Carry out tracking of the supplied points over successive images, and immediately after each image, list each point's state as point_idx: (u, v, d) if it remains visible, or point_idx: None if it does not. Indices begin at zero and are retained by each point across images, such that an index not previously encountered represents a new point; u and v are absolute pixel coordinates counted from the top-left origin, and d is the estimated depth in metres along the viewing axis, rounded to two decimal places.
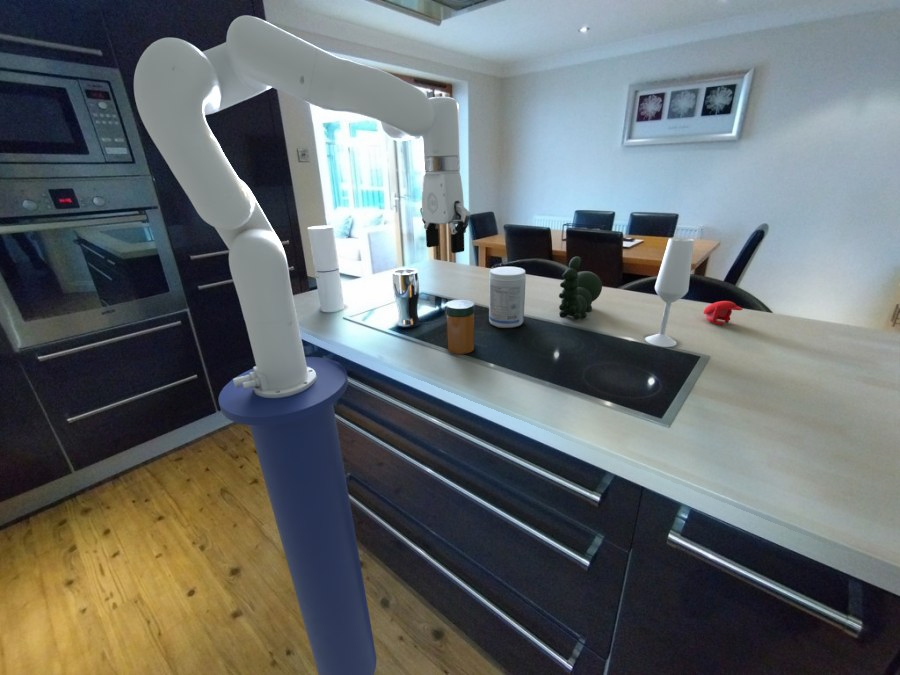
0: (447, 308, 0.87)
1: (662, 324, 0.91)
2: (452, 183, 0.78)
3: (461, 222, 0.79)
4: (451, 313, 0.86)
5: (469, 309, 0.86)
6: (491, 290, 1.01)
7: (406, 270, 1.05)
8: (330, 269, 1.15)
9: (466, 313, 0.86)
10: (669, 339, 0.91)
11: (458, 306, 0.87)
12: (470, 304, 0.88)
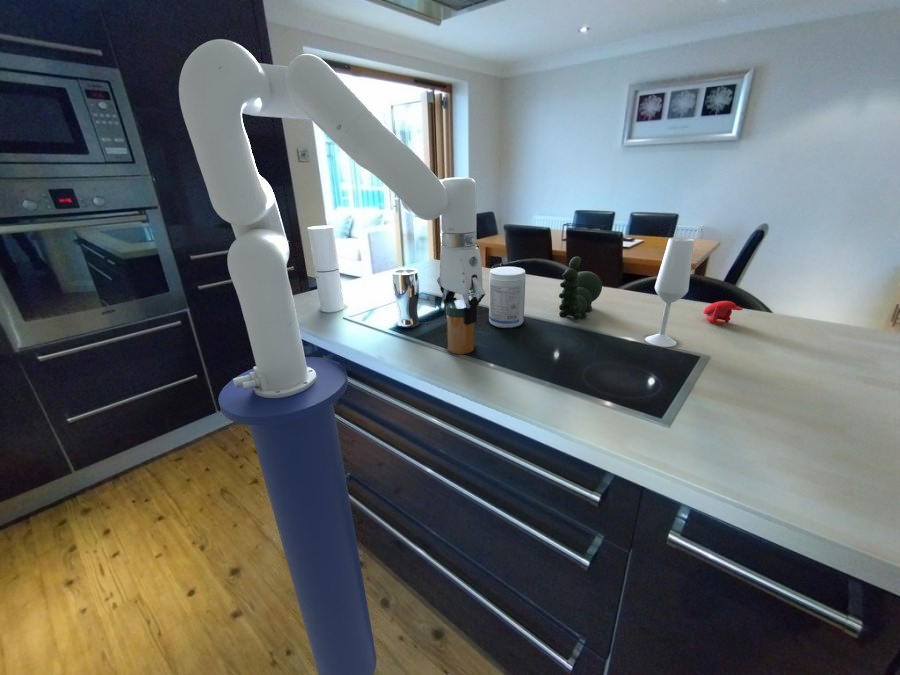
0: (447, 308, 0.87)
1: (662, 324, 0.91)
2: None
3: None
4: (451, 313, 0.86)
5: None
6: (491, 290, 1.01)
7: (406, 270, 1.05)
8: (330, 269, 1.15)
9: None
10: (669, 339, 0.91)
11: (458, 306, 0.87)
12: None
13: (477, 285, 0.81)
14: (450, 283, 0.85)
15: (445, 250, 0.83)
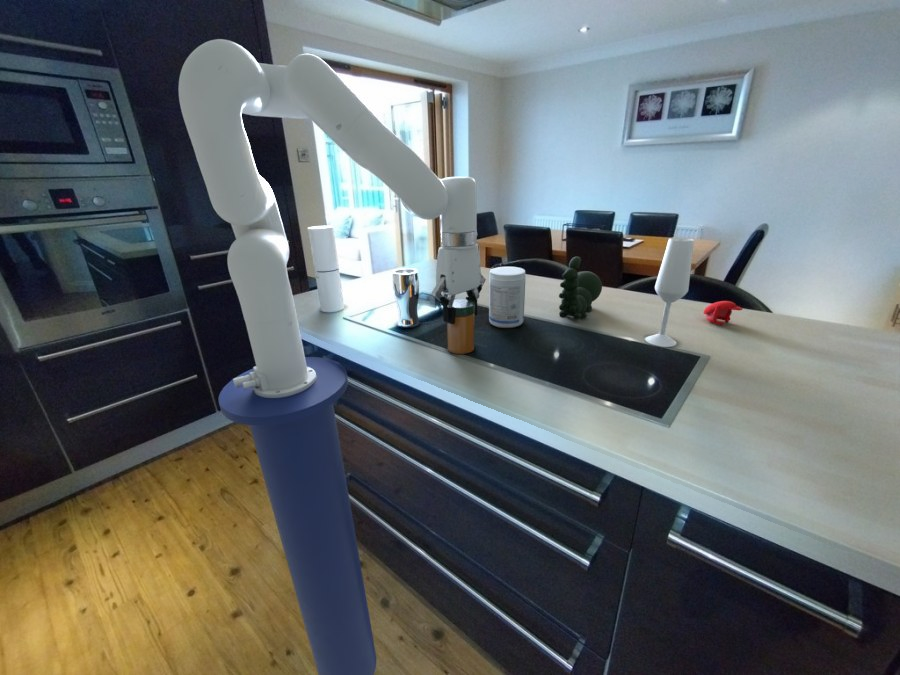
0: (469, 308, 0.86)
1: (662, 324, 0.91)
2: (440, 257, 0.81)
3: None
4: (473, 310, 0.87)
5: None
6: (491, 290, 1.01)
7: (406, 270, 1.05)
8: (330, 269, 1.15)
9: None
10: (669, 339, 0.91)
11: (468, 303, 0.88)
12: (461, 300, 0.90)
13: None
14: (466, 283, 0.84)
15: (462, 251, 0.81)
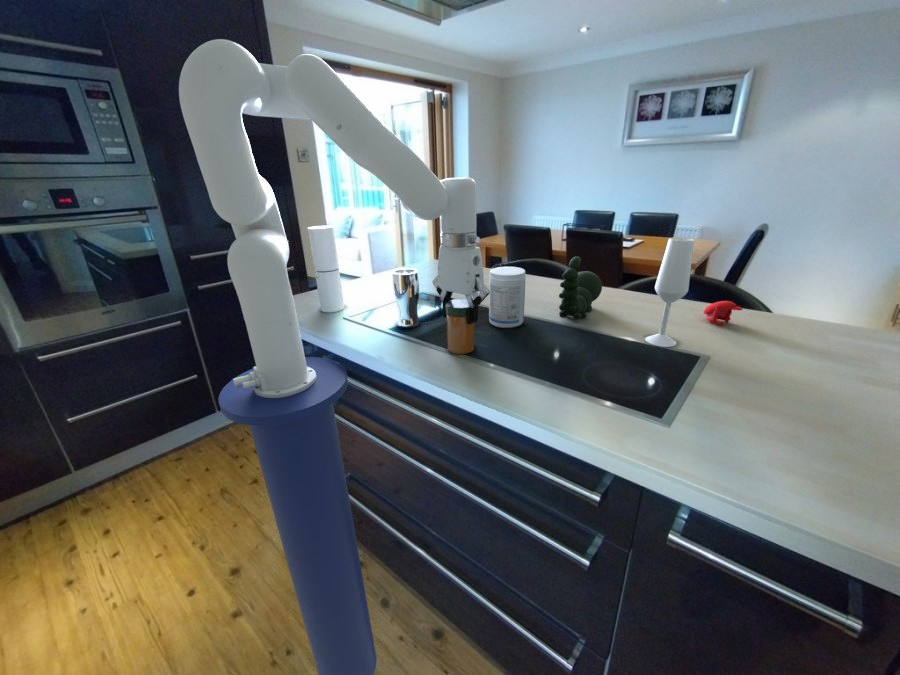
0: None
1: (662, 324, 0.91)
2: None
3: None
4: None
5: None
6: (491, 290, 1.01)
7: (406, 270, 1.05)
8: (330, 269, 1.15)
9: None
10: (669, 339, 0.91)
11: (467, 302, 0.88)
12: (458, 300, 0.90)
13: (481, 284, 0.82)
14: (451, 284, 0.85)
15: (445, 251, 0.83)
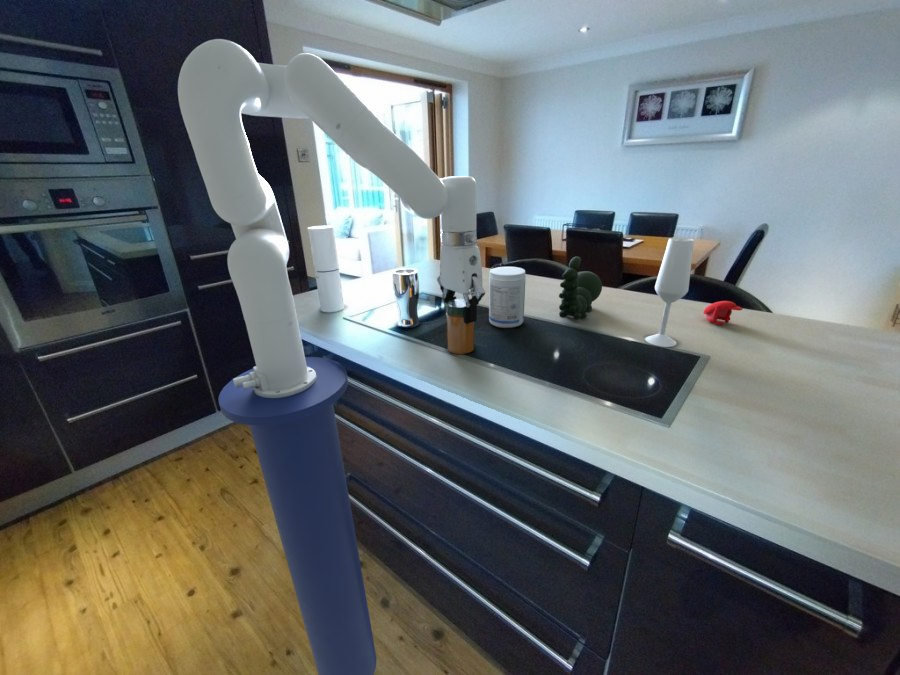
0: None
1: (662, 324, 0.91)
2: None
3: None
4: None
5: None
6: (491, 290, 1.01)
7: (406, 270, 1.05)
8: (330, 269, 1.15)
9: None
10: (669, 339, 0.91)
11: (459, 300, 0.90)
12: (449, 303, 0.88)
13: (477, 284, 0.81)
14: (450, 282, 0.85)
15: (445, 249, 0.83)
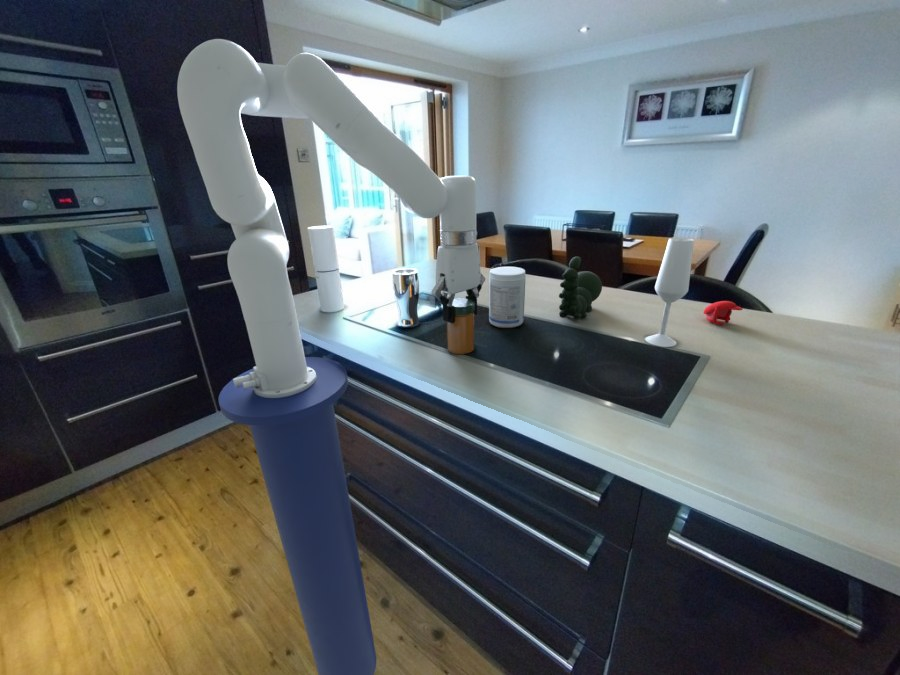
0: None
1: (662, 324, 0.91)
2: (440, 256, 0.81)
3: None
4: None
5: None
6: (491, 290, 1.01)
7: (406, 270, 1.05)
8: (330, 269, 1.15)
9: None
10: (669, 339, 0.91)
11: None
12: (461, 305, 0.86)
13: None
14: (465, 282, 0.84)
15: (461, 250, 0.81)
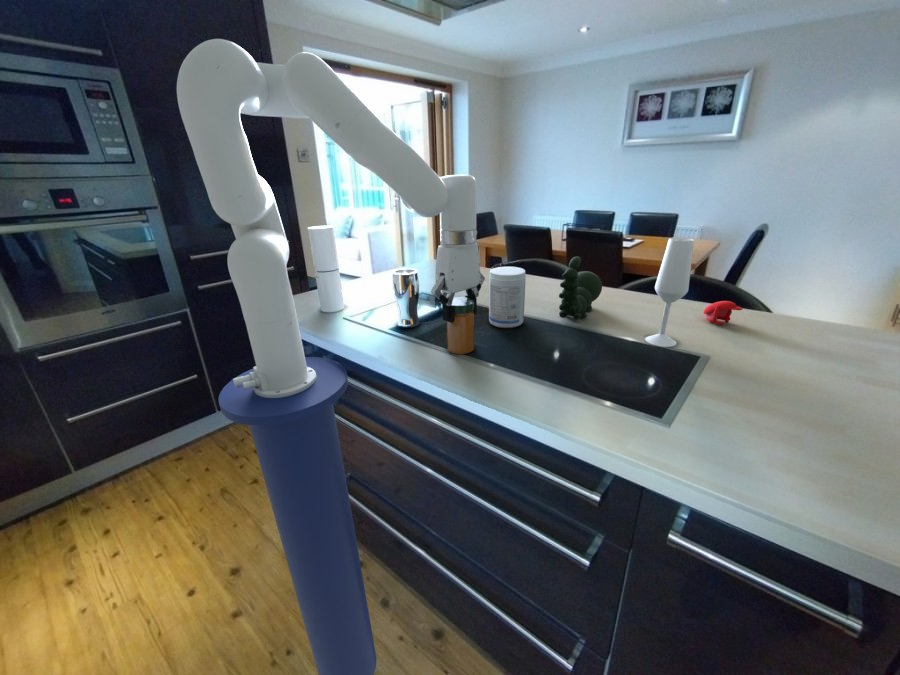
0: None
1: (662, 324, 0.91)
2: (439, 255, 0.81)
3: None
4: (457, 311, 0.85)
5: (472, 304, 0.87)
6: (491, 290, 1.01)
7: (406, 270, 1.05)
8: (330, 269, 1.15)
9: (471, 309, 0.86)
10: (669, 339, 0.91)
11: (461, 303, 0.86)
12: (469, 300, 0.88)
13: None
14: (465, 281, 0.84)
15: (461, 250, 0.81)
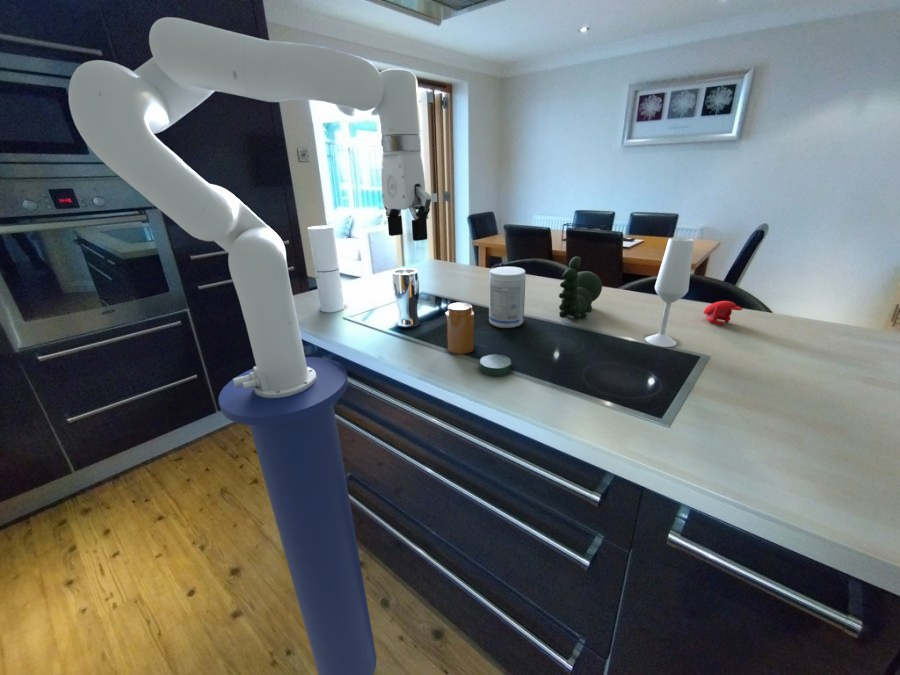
0: (508, 367, 0.80)
1: (662, 324, 0.91)
2: (411, 164, 0.72)
3: (422, 207, 0.73)
4: None
5: None
6: (491, 290, 1.01)
7: (406, 270, 1.05)
8: (330, 269, 1.15)
9: None
10: (669, 339, 0.91)
11: (503, 360, 0.82)
12: (493, 356, 0.84)
13: None
14: None
15: None
